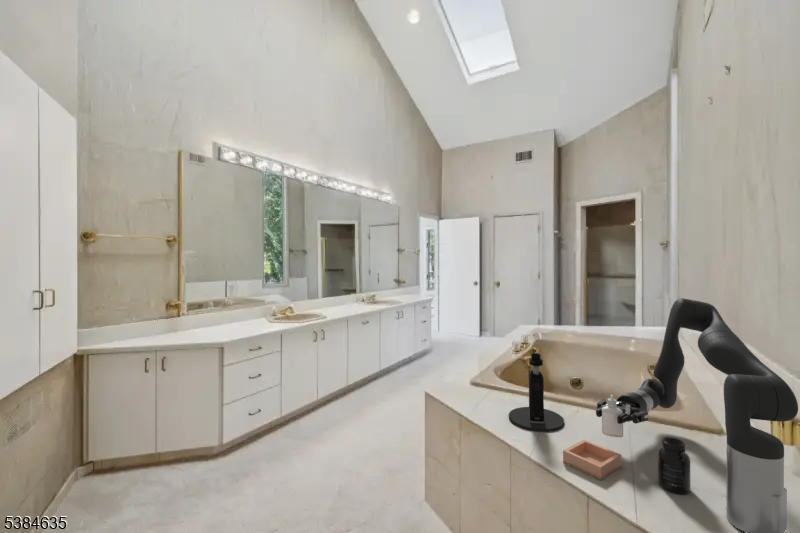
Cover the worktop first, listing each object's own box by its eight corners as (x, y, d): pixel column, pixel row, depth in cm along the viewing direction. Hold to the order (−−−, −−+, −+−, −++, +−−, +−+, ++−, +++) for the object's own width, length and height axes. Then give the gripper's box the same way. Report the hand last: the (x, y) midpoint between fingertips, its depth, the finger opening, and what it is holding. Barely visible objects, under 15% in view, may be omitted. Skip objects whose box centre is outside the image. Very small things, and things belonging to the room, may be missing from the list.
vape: (509, 429, 133) (508, 358, 132) (507, 407, 151) (506, 345, 151) (568, 434, 128) (568, 360, 127) (559, 411, 147) (558, 346, 146)
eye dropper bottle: (618, 440, 112) (617, 399, 112) (599, 433, 117) (598, 394, 116) (625, 436, 114) (625, 396, 114) (606, 429, 119) (606, 391, 119)
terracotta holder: (621, 466, 108) (621, 454, 108) (600, 480, 102) (600, 467, 102) (584, 450, 117) (584, 439, 117) (563, 462, 111) (562, 450, 111)
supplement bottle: (659, 476, 103) (659, 432, 103) (691, 485, 99) (691, 439, 98) (656, 488, 98) (656, 442, 97) (689, 499, 93) (689, 450, 93)
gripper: (612, 386, 129) (584, 397, 120) (659, 398, 117) (633, 412, 108) (612, 408, 129) (584, 421, 120) (660, 422, 117) (633, 438, 108)
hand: (608, 416), depth 114 cm, fingers closed on eye dropper bottle, 5 cm apart
